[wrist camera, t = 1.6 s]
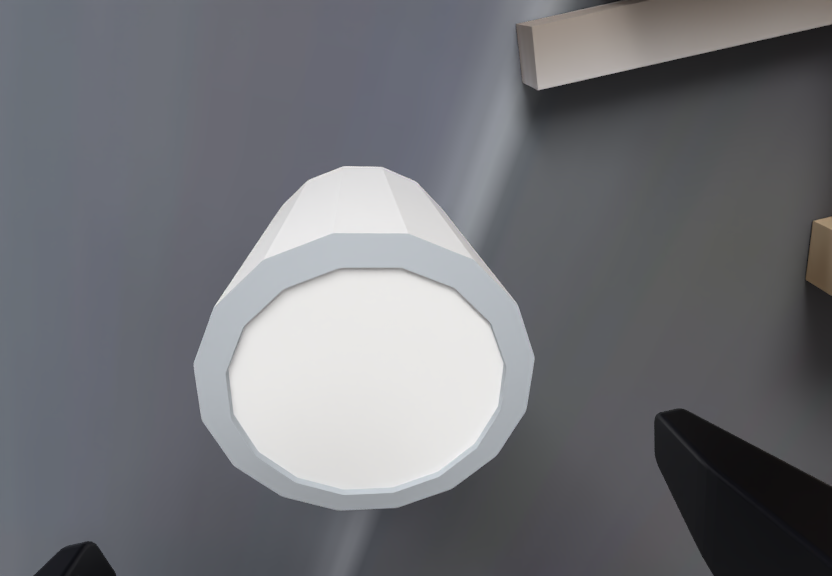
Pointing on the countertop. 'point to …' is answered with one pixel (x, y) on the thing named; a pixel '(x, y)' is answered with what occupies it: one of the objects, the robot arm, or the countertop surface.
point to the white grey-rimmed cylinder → (363, 349)
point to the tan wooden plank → (666, 53)
